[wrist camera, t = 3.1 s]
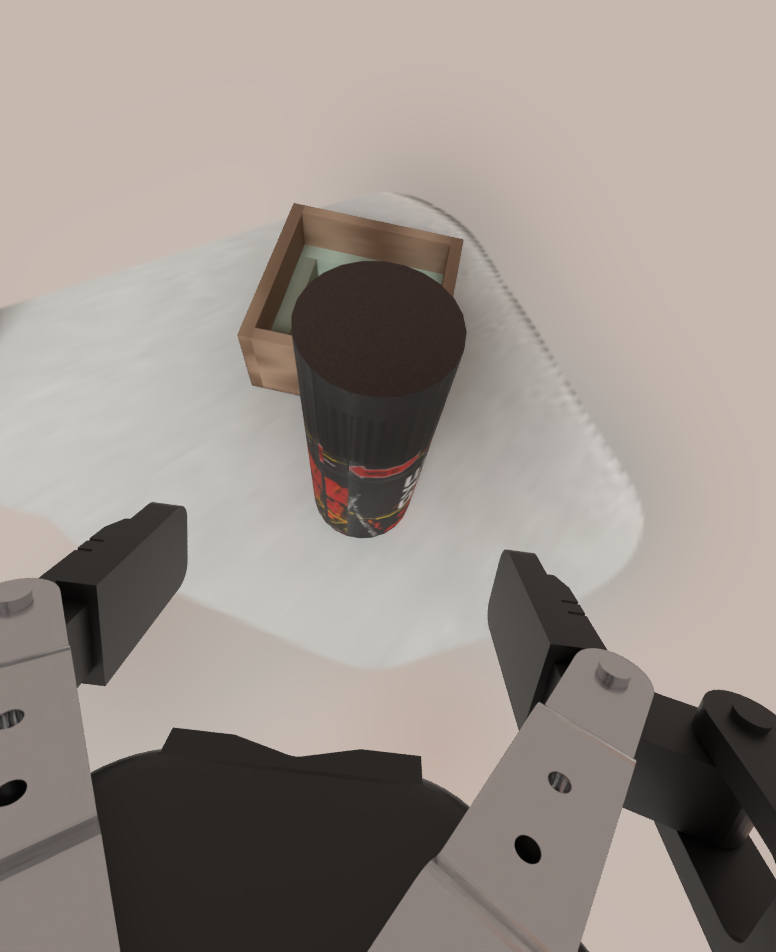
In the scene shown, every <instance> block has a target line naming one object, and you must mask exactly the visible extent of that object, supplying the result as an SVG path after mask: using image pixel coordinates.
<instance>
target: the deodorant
mask: <svg viewBox="0 0 776 952" xmlns="http://www.w3.org/2000/svg"><path fill="white" fill-rule="evenodd" d="M291 326H292V340H293V347H294V354H295V361H296V368H297V375H298V382H299V389H300V396H301V403H302V410H303V417H304V425H305V432H306V439H307V446H308V453H309V460H310V467H311V474H312V481H313V488H314V495H315V501H316V504H317V507H318V510H319V513H320V514H321V516H322V517H323V519H324V520H325V522H326V523H327V524H329V525H330V526H331V527H332V528H333V529H335V530H336V531H338V532H340V533H342V534H344V535H346V536H351V537H356V538H370V537H375V536H378V535H381V534H384V533H386V532H387V531H389V530H390V529H392V528H393V527H395V526H396V525H397V524H398V522H399V521H400V520H401V519H402V518H403V516H404V514H405V512H406V510H407V508H408V505H409V502H410V499H411V497H412V494H413V491H414V488H415V486H416V483H417V480H418V477H419V474H420V472H421V469H422V466H423V463H424V460H425V458H426V455H427V452H428V449H429V446H430V444H431V441H432V438H433V435H434V432H435V430H436V427H437V424H438V421H439V419H440V416H441V413H442V410H443V407H444V405H445V402H446V399H447V396H448V393H449V391H450V388H451V385H452V382H453V379H454V377H455V374H456V371H457V368H458V365H459V363H460V360H461V357H462V354H463V351H464V347H465V339H466V327H465V322H464V317H463V314H462V312H461V310H460V308H459V306H458V305H457V303H456V301H455V299H454V298H453V297H452V296H451V295H450V294H449V292H448V291H447V290H446V289H445V288H444V287H443V286H442V285H441V284H439V283H438V282H436V281H435V280H434V279H432V278H431V277H429V276H428V275H426V274H425V273H422V272H420V271H418V270H415V269H413V268H410V267H408V266H405V265H401V264H396V263H391V262H386V261H359V262H354V263H348V264H343V265H340V266H338V267H335V268H333V269H331V270H328V271H326V272H324V273H322V274H321V275H320V276H318V277H317V278H316V279H314V280H313V281H312V282H310V283H309V284H308V285H307V286H306V288H305V289H304V290H303V292H302V293H301V294H300V296H299V297H298V298H297V301H296V303H295V306H294V309H293V312H292V315H291Z"/></svg>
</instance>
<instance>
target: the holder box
mask: <svg viewBox="0 0 776 952" xmlns="http://www.w3.org/2000/svg"><path fill="white" fill-rule="evenodd" d="M462 245H463V239H458V238H454V237H449V236H444V235H440V234H435V233H430V232H426V231H421V230H416V229H412V228H407V227H402V226H398V225H393V224H389V223H384V222H379V221H375V220H370V219H365V218H361V217H356V216H351V215H347V214H342V213H337V212H333V211H328V210H324V209H319V208H314V207H309V206H305V205H300V204H296V203H294V204H293V206H292V209H291V211H290V213H289V215H288V218H287V220H286V222H285V225H284V227H283V230H282V232H281V234H280V237H279V239H278V241H277V244H276V246H275V248H274V251H273V253H272V255H271V258H270V260H269V262H268V265H267V267H266V269H265V272H264V274H263V276H262V279H261V281H260V283H259V286H258V288H257V290H256V293H255V295H254V297H253V300H252V302H251V304H250V307H249V309H248V311H247V314H246V316H245V318H244V321H243V323H242V325H241V328H240V330H239V332H238V335H237V336H238V339H239V342H240V346H241V349H242V353H243V356H244V359H245V363H246V366H247V370H248V373H249V376H250V380H251V383H252V385H253V386H258V387H263V388H267V389H272V390H277V391H281V392H286V393H290V394H295V395H300V389H299V382H298V375H297V368H296V361H295V354H294V347H293V340H292V326H291V315H292V312H293V309H294V306H295V303H296V301H297V298H298V297H299V296H300V294H301V293H302V292H303V290H304V289H305V288H306V286H307V285H308V284H309V283H310V282H312V281H313V280H314V279H316V278H317V277H318V276H320V275H321V274H322V273H324V272H326V271H328V270H331V269H333V268H335V267H338V266H340V265H343V264H348V263H354V262H359V261H386V262H391V263H396V264H401V265H405V266H408V267H410V268H413V269H415V270H418V271H420V272H422V273H425V274H426V275H428V276H429V277H431V278H432V279H434V280H435V281H436V282H438V283H439V284H441V285H442V286H443V287H444V288H445V289H446V290H447V291H448V292H449V294H450V295H451V296H452V297H453V294H454V288H455V283H456V278H457V272H458V267H459V261H460V256H461V250H462Z"/></svg>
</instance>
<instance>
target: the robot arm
mask: <svg viewBox="0 0 776 952" xmlns="http://www.w3.org/2000/svg"><path fill="white" fill-rule="evenodd" d="M186 570H187V512H186V509H185V508H184V507H183V506H177V505H170V504H162V503H155V502H152V503H150V504H148V505H147V506H146V507H144V508H143V509H142V510H141V511H140V512H138V513H137V514H136V515H135V516H134V517H132V518H131V519H123V520H121V521H118V522H116V523H113V524H111V525H108V526H106V527H104V528H103V529H101V530H100V531H99V532H97V533H96V534H95V535H93V536H92V537H91V538H90V540H89V541H86V542H84V543H83V544H82V545H81V546H79V547H78V550H74V551H73V552H72V553H70V554H69V555H68V556H66V557H65V558H64V559H63V560H61V561H60V562H59V563H57V564H56V565H55V566H53V567H52V568H51V569H50V570H48V571H47V572H46V573H44V574H43V575H42V576H41V577H40V578H25V579H16V580H11V581H5V582H2V583H0V952H589V951H588V950H587V949H586V947H585V946H584V945H583V944H582V942H581V939H582V935H583V932H584V929H585V926H586V923H587V920H588V916H589V913H590V910H591V907H592V903H593V900H594V897H595V894H596V890H597V887H598V884H599V881H600V878H601V874H602V871H603V868H604V865H605V861H606V858H607V855H608V852H609V848H610V845H611V842H612V839H613V836H614V832H615V829H616V826H617V822H618V819H619V816H620V813H621V810H622V807H623V808H625V809H627V810H630V811H632V812H635V813H637V814H639V815H642V816H644V817H647V818H649V819H651V820H654V822H655V825H656V827H657V829H658V831H659V834H660V836H661V838H662V840H663V842H664V845H665V847H666V849H667V851H668V854H669V856H670V858H671V860H672V863H673V865H674V867H675V870H676V872H677V874H678V876H679V879H680V881H681V883H682V885H683V887H684V890H685V892H686V894H687V896H688V899H689V901H690V903H691V905H692V907H693V910H694V912H695V914H696V917H697V919H698V921H699V923H700V926H701V928H702V930H703V932H704V935H705V937H706V939H707V941H708V944H709V946H710V948H711V950H712V952H776V879H775V877H774V876H773V874H772V872H771V871H770V869H769V867H768V866H767V864H766V863H765V861H764V859H763V858H762V856H761V854H760V853H759V851H758V849H757V848H756V846H755V845H754V843H753V841H752V840H751V838H750V836H749V833H750V831H751V830H752V828H753V827H755V828H756V829H757V831H758V833H759V834H760V836H761V838H762V839H763V841H764V842H765V844H766V845H767V847H768V849H769V850H770V852H771V854H772V856H773V858H774V860H775V863H776V715H775V714H774V713H772V712H771V711H770V710H768V709H767V708H765V707H764V706H762V705H760V704H759V703H757V702H755V701H753V700H751V699H749V698H747V697H744V696H742V695H740V694H736V693H733V692H729V691H725V690H712V691H709V692H707V693H706V694H705V695H704V697H703V699H702V701H701V703H700V705H699V707H698V708H697V707H695V706H692V705H689V704H686V703H683V702H680V701H677V700H674V699H672V698H669V697H666V696H663V695H660V694H658V693H655V692H654V688H653V685H652V683H651V681H650V679H649V678H648V677H647V675H646V674H645V673H644V672H643V671H642V670H641V669H640V668H639V667H638V666H636V665H635V664H633V663H632V662H631V661H629V660H628V659H626V658H624V657H622V656H620V655H618V654H616V653H613V652H610V651H608V650H607V649H606V647H605V646H604V644H603V642H602V641H601V639H600V637H599V636H598V634H597V633H596V631H595V629H594V628H593V626H592V624H591V623H590V621H589V619H588V618H587V616H585V613H584V611H583V610H582V608H581V606H580V605H578V601H577V600H576V598H575V596H574V595H573V593H572V592H571V590H570V588H569V587H567V586H566V585H565V584H564V583H563V582H561V581H560V580H559V579H558V578H557V577H556V576H554V575H548V574H546V572H545V570H544V568H543V566H542V565H541V563H540V561H539V559H538V557H537V556H536V554H534V553H528V552H520V551H512V550H504V551H503V552H502V554H501V557H500V561H499V565H498V569H497V572H496V576H495V580H494V584H493V588H492V592H491V596H490V600H489V605H488V625H489V629H490V633H491V636H492V640H493V643H494V647H495V650H496V653H497V656H498V660H499V664H500V667H501V671H502V674H503V678H504V681H505V685H506V688H507V691H508V695H509V698H510V702H511V705H512V709H513V712H514V715H515V719H516V722H517V726H518V729H519V732H518V734H517V735H516V737H515V738H514V740H513V741H512V743H511V744H510V746H509V747H508V749H507V751H506V752H505V754H504V755H503V757H502V758H501V760H500V761H499V763H498V764H497V766H496V768H495V769H494V771H493V772H492V774H491V775H490V777H489V778H488V780H487V781H486V783H485V785H484V786H483V788H482V789H481V791H480V792H479V794H478V795H477V797H476V799H475V800H474V801H473V803H472V805H471V806H470V807H469V806H468V805H467V804H465V803H464V802H463V801H462V800H461V799H459V798H458V797H457V796H455V795H453V794H452V793H450V792H449V791H447V790H446V789H444V788H442V787H440V786H438V785H436V784H434V783H433V782H430V781H428V780H425V779H423V778H422V767H421V756H415V755H406V754H397V753H388V752H380V751H371V750H363V749H361V750H360V749H359V750H352V751H343V752H335V753H327V754H319V755H311V756H303V757H295V756H290V755H287V754H284V753H282V752H279V751H276V750H274V749H271V748H268V747H266V746H263V745H260V744H258V743H255V742H253V741H250V740H247V739H245V738H242V737H239V736H237V735H232V734H224V733H215V732H207V731H198V730H189V729H180V728H173V729H172V730H171V732H170V734H169V736H168V738H167V740H166V742H165V744H164V746H163V748H162V749H160V750H153V751H148V752H144V753H139V754H135V755H132V756H129V757H126V758H123V759H120V760H117V761H115V762H113V763H110V764H108V765H105V766H103V767H101V768H99V769H97V770H95V771H93V772H92V773H90V767H89V761H88V755H87V748H86V742H85V736H84V730H83V723H82V718H81V711H80V704H79V699H78V692H77V688H78V687H79V685H80V684H81V683H83V684H92V685H100V686H106V684H107V683H108V682H109V680H110V679H111V678H112V677H113V675H114V674H115V672H116V671H117V670H118V669H119V667H120V666H121V664H122V663H123V662H124V661H125V659H126V658H127V657H128V655H129V654H130V653H131V651H132V650H133V649H134V647H135V646H136V645H137V643H138V642H139V641H140V639H141V638H142V637H143V635H144V634H145V633H146V631H147V630H148V629H149V627H150V626H151V625H152V623H153V622H154V621H155V619H156V618H157V617H158V616H159V614H160V613H161V612H162V610H163V609H164V608H165V606H166V605H167V603H168V602H169V601H170V600H171V598H172V597H173V596H174V594H175V593H176V592H177V590H178V589H179V588H180V586H181V584H182V582H183V580H184V577H185V574H186Z"/></svg>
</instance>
